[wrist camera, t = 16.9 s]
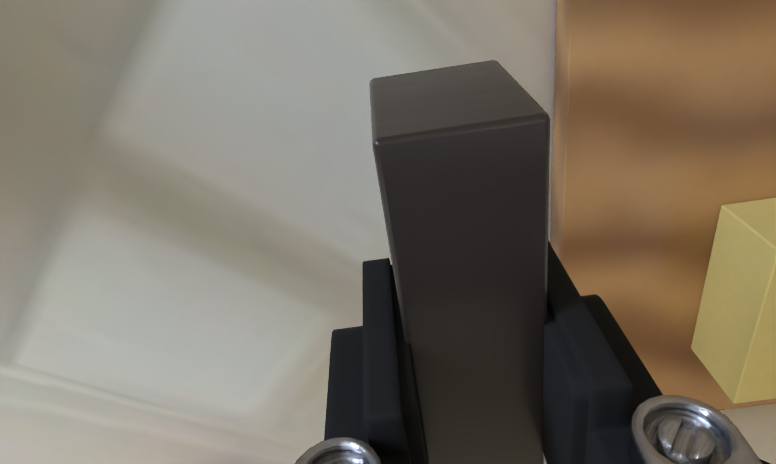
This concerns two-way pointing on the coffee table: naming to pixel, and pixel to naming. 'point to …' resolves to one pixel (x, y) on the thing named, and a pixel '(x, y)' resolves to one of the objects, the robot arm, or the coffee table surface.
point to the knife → (468, 253)
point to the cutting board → (659, 160)
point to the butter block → (741, 303)
